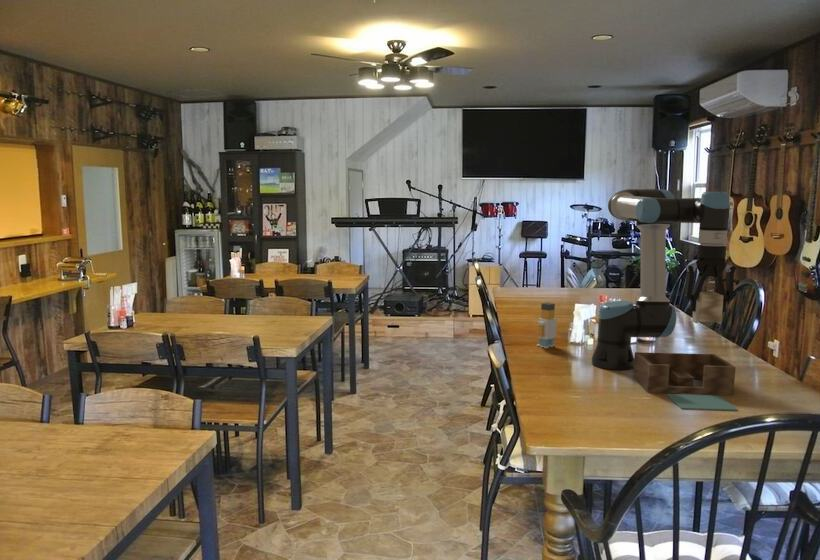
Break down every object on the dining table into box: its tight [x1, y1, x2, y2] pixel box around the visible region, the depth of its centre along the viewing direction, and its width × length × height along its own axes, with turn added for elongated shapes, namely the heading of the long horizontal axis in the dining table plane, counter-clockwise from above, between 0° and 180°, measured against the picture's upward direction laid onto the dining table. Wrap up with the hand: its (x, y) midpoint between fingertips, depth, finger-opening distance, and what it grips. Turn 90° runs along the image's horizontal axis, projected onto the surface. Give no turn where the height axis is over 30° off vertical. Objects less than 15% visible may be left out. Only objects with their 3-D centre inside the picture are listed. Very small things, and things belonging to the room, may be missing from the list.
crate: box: [632, 351, 737, 396], centre depth 209 cm, size 26×16×9 cm, turn 86°
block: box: [697, 291, 724, 323], centre depth 189 cm, size 6×6×8 cm
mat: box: [666, 393, 738, 412], centre depth 193 cm, size 16×13×1 cm
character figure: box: [536, 302, 558, 349], centre depth 263 cm, size 8×10×18 cm
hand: (706, 322), depth 190 cm, fingers closed on block, 6 cm apart
